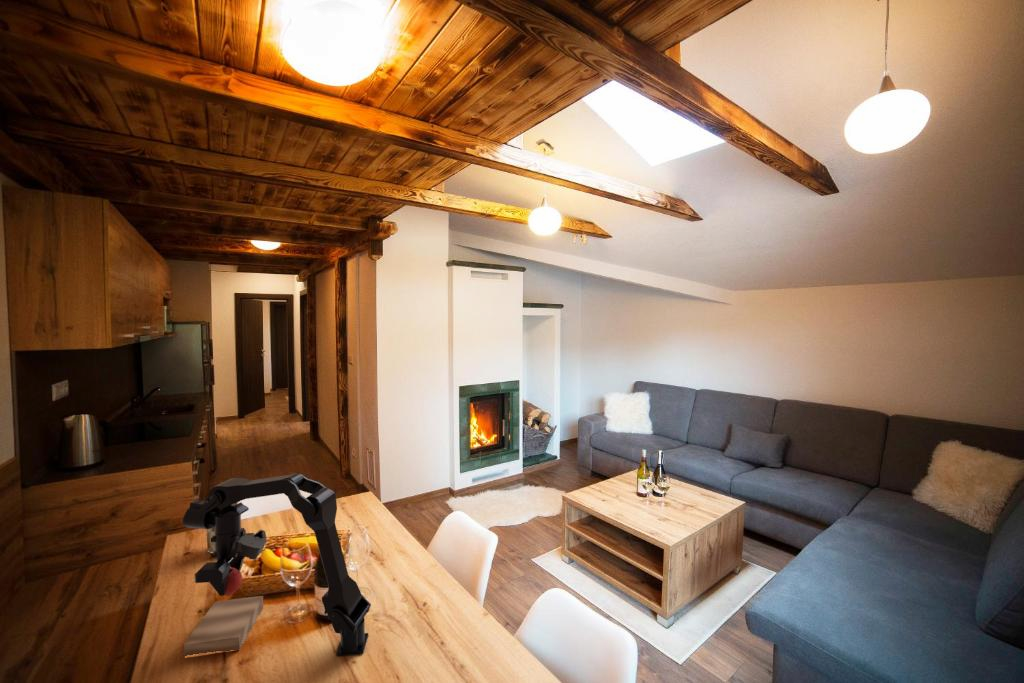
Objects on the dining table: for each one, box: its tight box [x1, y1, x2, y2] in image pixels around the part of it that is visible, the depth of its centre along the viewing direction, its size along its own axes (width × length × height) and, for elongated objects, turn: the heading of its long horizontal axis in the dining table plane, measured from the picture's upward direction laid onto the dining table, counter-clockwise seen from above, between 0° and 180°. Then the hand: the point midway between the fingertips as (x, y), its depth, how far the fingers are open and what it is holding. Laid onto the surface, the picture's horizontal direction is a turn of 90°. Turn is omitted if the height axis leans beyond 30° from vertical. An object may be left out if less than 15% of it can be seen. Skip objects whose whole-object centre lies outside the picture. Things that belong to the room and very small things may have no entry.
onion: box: [224, 567, 243, 597], centre depth 110 cm, size 6×6×8 cm
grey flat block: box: [183, 595, 264, 656], centre depth 111 cm, size 16×12×4 cm
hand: (229, 587), depth 110 cm, fingers closed on onion, 6 cm apart
